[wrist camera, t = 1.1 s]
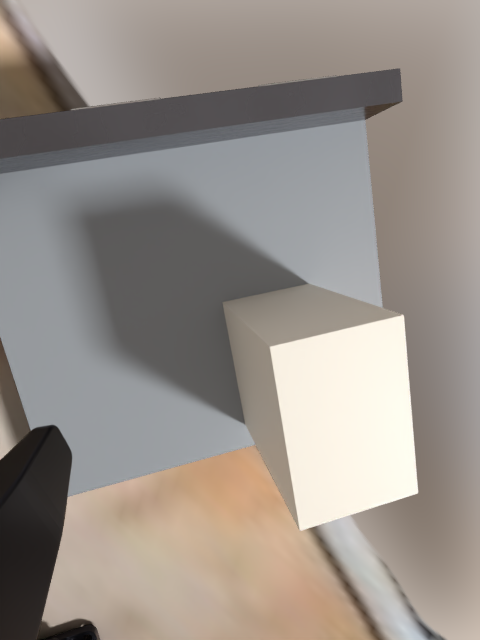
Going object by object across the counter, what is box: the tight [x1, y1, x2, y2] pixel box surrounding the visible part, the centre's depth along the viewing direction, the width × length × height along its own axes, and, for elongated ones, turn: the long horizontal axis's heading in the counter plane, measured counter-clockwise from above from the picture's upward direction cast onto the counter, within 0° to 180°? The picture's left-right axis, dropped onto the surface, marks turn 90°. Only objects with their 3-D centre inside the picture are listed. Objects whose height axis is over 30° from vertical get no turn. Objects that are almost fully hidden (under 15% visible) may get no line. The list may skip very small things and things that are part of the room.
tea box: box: [222, 284, 418, 531], centre depth 18 cm, size 6×5×8 cm
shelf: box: [0, 69, 402, 497], centre depth 20 cm, size 16×18×6 cm
